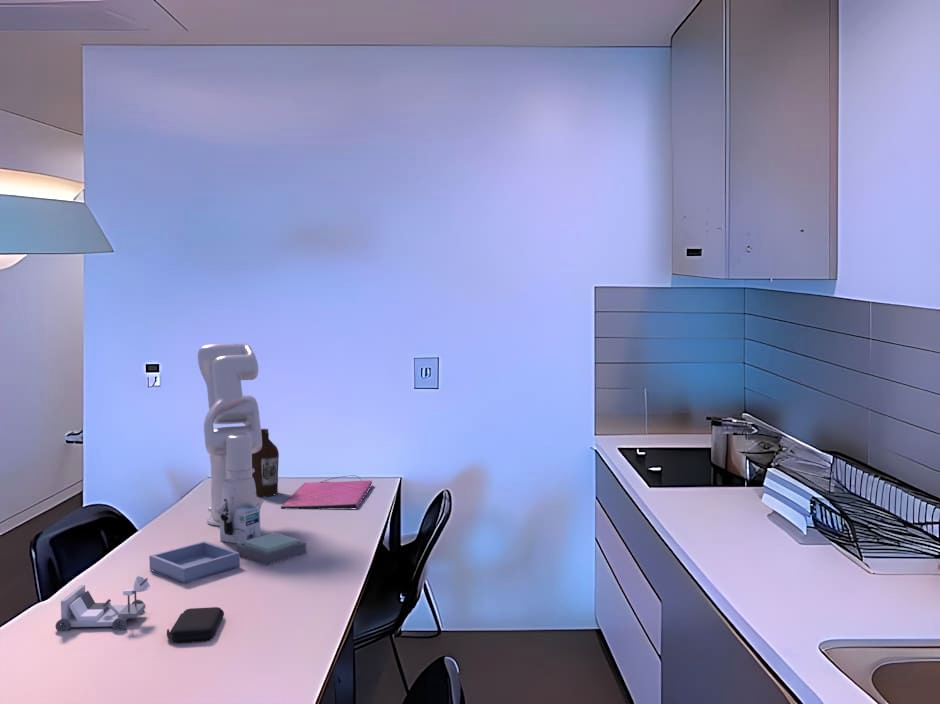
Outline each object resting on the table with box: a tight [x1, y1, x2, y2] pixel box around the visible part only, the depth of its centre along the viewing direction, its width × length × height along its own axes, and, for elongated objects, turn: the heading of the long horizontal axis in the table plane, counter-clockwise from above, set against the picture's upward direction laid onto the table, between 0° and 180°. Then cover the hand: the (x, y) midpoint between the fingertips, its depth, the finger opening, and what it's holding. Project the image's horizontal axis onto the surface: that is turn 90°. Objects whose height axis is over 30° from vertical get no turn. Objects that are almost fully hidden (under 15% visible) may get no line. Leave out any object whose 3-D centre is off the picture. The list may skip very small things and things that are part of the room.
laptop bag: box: [280, 474, 373, 510], centre depth 297 cm, size 40×4×27 cm
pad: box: [244, 532, 299, 553], centre depth 228 cm, size 11×11×2 cm
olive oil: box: [252, 428, 280, 498], centre depth 299 cm, size 11×11×25 cm
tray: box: [148, 540, 241, 585], centre depth 215 cm, size 17×17×4 cm
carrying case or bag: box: [166, 606, 225, 644], centre depth 175 cm, size 11×3×15 cm
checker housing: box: [235, 539, 307, 566], centre depth 228 cm, size 14×14×3 cm
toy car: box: [54, 575, 151, 632], centre depth 180 cm, size 18×10×12 cm
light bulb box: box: [219, 506, 261, 545], centre depth 240 cm, size 11×7×11 cm, turn 65°
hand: (240, 530), depth 240 cm, fingers closed on light bulb box, 7 cm apart
